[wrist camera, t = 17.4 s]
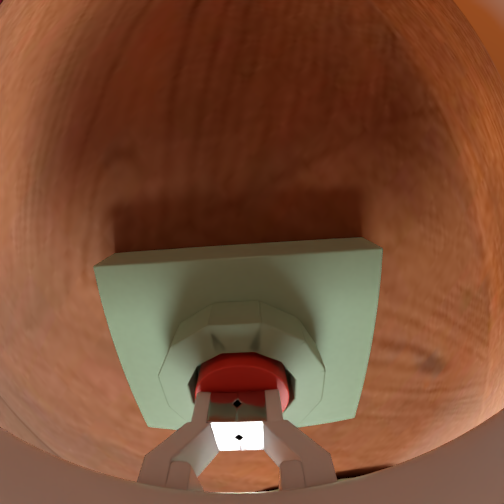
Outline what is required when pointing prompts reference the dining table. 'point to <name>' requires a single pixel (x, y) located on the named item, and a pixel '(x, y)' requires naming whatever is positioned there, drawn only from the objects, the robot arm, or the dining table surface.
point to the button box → (245, 320)
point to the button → (243, 375)
